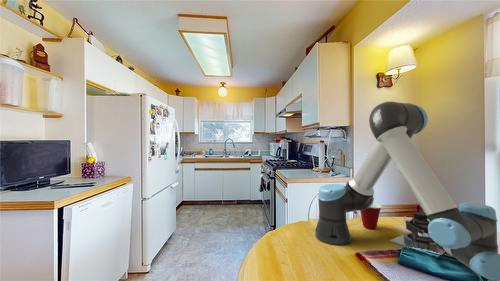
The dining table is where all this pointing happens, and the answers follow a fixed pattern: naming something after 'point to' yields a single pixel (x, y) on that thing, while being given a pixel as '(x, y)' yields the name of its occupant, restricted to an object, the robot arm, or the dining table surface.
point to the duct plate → (416, 243)
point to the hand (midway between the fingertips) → (413, 220)
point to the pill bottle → (421, 220)
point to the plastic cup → (370, 216)
